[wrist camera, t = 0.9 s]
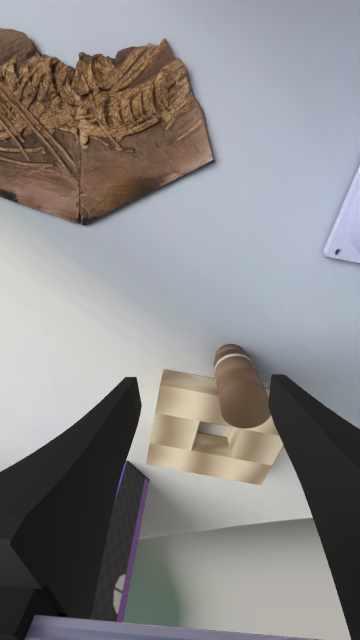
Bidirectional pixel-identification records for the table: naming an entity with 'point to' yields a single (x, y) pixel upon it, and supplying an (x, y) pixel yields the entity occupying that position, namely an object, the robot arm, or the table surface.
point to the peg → (240, 388)
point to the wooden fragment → (94, 127)
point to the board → (204, 449)
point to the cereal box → (120, 546)
